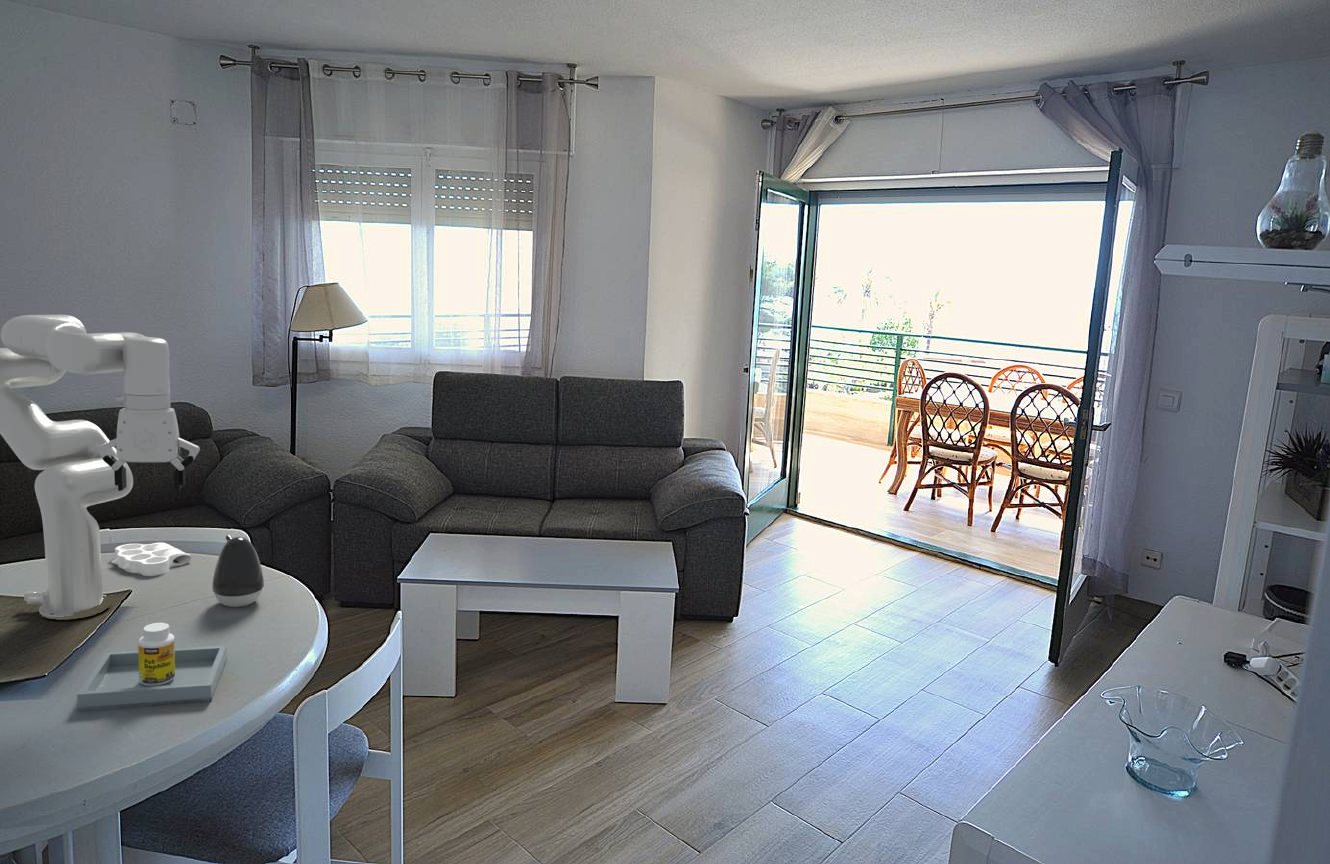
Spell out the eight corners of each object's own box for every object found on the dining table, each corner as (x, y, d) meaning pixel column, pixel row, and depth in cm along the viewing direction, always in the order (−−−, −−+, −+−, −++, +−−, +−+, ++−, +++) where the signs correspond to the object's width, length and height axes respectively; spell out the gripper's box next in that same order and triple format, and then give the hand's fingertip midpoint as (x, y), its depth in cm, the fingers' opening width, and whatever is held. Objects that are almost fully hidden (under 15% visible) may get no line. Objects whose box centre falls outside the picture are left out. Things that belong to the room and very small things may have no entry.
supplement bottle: (139, 690, 151) (137, 635, 149) (139, 676, 155) (137, 623, 153) (176, 684, 154) (174, 630, 152) (174, 670, 158) (173, 618, 156)
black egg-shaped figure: (251, 590, 198) (250, 527, 196) (272, 604, 192) (271, 539, 189) (204, 600, 191) (203, 535, 188) (224, 615, 184) (223, 548, 181)
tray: (78, 710, 144) (77, 694, 143) (106, 667, 159) (105, 652, 158) (211, 700, 150) (211, 685, 149) (226, 660, 165) (226, 645, 164)
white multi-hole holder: (198, 567, 211) (134, 582, 199) (162, 549, 221) (99, 562, 209) (198, 554, 210) (133, 568, 198) (161, 537, 220) (98, 549, 208)
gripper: (89, 404, 158) (93, 494, 161) (194, 406, 164) (196, 493, 167) (101, 397, 165) (105, 484, 168) (202, 400, 171) (204, 483, 174)
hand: (150, 488), depth 168 cm, fingers open, 9 cm apart
